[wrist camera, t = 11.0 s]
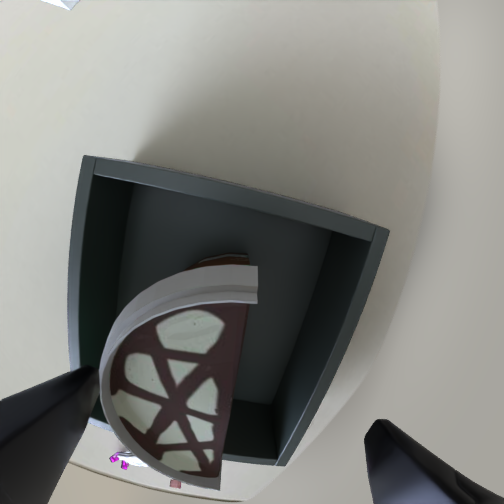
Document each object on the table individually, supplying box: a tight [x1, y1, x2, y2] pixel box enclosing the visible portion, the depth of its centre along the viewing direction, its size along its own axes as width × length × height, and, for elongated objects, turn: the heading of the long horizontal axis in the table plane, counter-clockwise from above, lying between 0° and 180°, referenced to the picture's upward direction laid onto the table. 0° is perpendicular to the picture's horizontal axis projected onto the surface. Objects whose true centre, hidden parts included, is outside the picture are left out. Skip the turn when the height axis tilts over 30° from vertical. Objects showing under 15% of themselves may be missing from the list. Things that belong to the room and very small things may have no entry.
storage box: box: [67, 155, 390, 466], centre depth 17 cm, size 15×17×7 cm
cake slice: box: [99, 252, 258, 491], centre depth 15 cm, size 12×6×10 cm, turn 171°
